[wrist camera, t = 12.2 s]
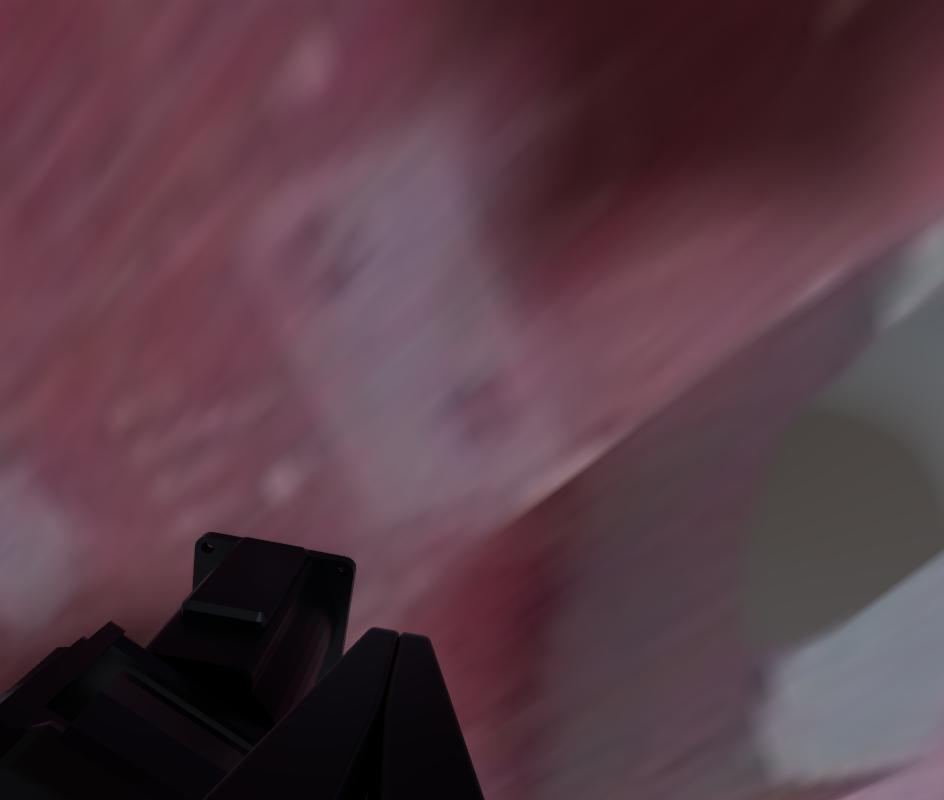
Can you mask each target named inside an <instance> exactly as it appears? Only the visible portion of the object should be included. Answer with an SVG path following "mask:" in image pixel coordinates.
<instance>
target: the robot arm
mask: <svg viewBox="0 0 944 800" xmlns="http://www.w3.org/2000/svg"><path fill="white" fill-rule="evenodd" d="M207 543H210V544H211V545H212V546H213V548H211V547H209V546H208V545H207ZM339 567H343V568H345V569H346V570H347V571H348V572H342V571H340V570H339ZM355 573H356V564H355V563H354V561H353V560H352V559H351V558H348V557H345V556H340V555H335V554H329V553H324V552H318V551H313V550H307V549H305V548H303V547H298V546H292V545H287V544H282V543H276V542H271V541H265V540H260V539H255V538H249V537H244V538H242V537H237V536H232V535H226V534H221V533H215V532H208V533H205V534H204V535H203V536H202V537H201V538H200V539H199V540H198V541H197V542H196V544H195V557H194V575H193V592H192V593H191V594H190V595H189V596H188V597H187V598H186V599H185V600H184V601H183V603H182V607H181V608H180V609H179V610H178V611H177V612H176V613H175V615H174V616H173V617H172V618H171V619H170V620H169V621H168V622H167V623H166V624H165V626H164V627H163V628H162V629H161V630H160V631H159V632H158V633H157V634H156V635H155V637H154V638H153V639H152V640H151V641H150V642H149V643H148V644H147V645H146V647H145V648H143V647H142V646H140V645H139V644H137V643H136V642H134V641H133V640H131V639H130V638H128V637H127V636H125V635H124V633H125V632H126V631H125V630H123V629H122V628H120V627H119V626H118V625H116V624H115V623H113V622H112V621H110V622H108V623H107V624H106V625H105V626H104V627H102V628H101V629H100V630H99V631H98V632H96V633H95V634H94V635H93V636H92V637H90V638H89V639H87V638H86V637H84V636H83V637H82V638H80V639H79V640H78V641H77V642H75V643H74V644H73V645H72V646H70V647H57V648H56V649H55V650H54V651H53V652H52V653H51V654H49V655H48V656H47V657H46V658H45V659H44V660H43V661H41V662H40V663H39V664H38V665H37V666H36V667H35V668H33V669H32V670H31V671H30V672H29V673H28V674H27V675H25V676H24V677H23V678H22V679H21V680H20V681H18V682H17V683H16V684H15V685H14V686H12V687H11V688H10V689H9V690H7V691H6V692H5V693H4V694H2V695H1V696H0V800H366V799H367V800H485V799H484V796H483V793H482V790H481V787H480V784H479V781H478V779H477V776H476V773H475V770H474V767H473V764H472V761H471V758H470V755H469V752H468V749H467V746H466V743H465V740H464V737H463V734H462V732H461V729H460V726H459V723H458V720H457V717H456V714H455V711H454V708H453V705H452V702H451V699H450V696H449V693H448V690H447V687H446V684H445V682H444V679H443V676H442V673H441V670H440V667H439V664H438V661H437V658H436V655H435V652H434V649H433V646H432V643H431V641H430V639H429V638H428V637H427V636H424V635H418V634H412V633H407V632H404V633H402V634H401V635H400V637H399V633H398V632H397V631H395V630H390V629H384V628H378V627H372V628H370V629H369V630H368V631H367V632H366V633H365V634H364V635H363V636H362V637H361V638H360V639H359V640H358V641H357V642H356V643H355V644H354V645H353V646H352V647H351V648H350V649H349V650H348V651H347V652H346V653H345V654H344V655H343V651H344V645H345V638H346V632H347V625H348V619H349V612H350V606H351V599H352V593H353V586H354V580H355ZM367 794H368V795H367Z"/></svg>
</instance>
